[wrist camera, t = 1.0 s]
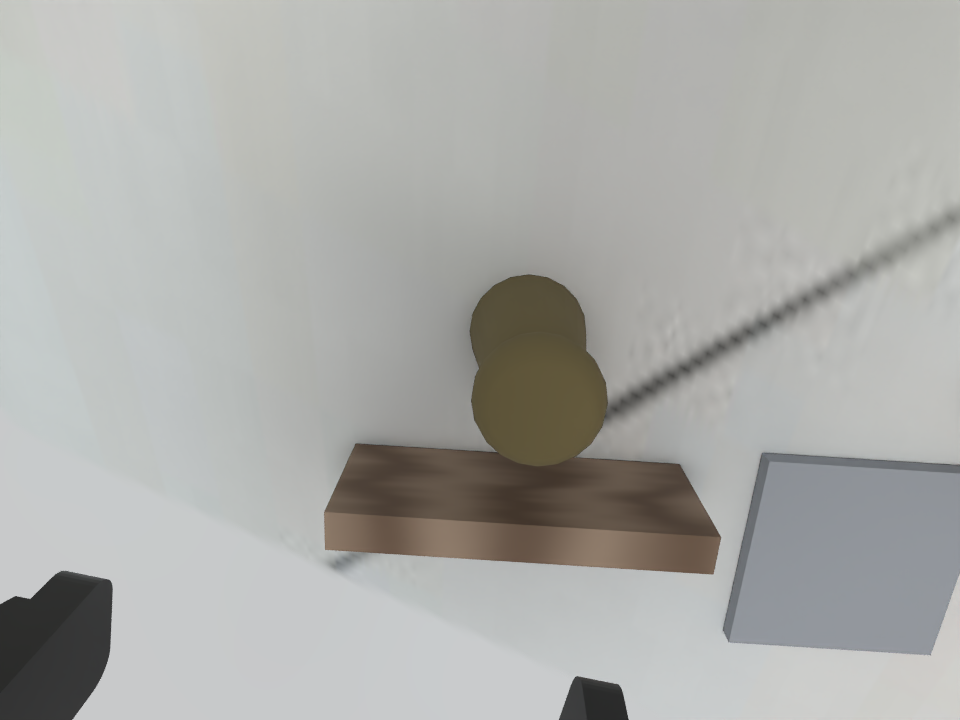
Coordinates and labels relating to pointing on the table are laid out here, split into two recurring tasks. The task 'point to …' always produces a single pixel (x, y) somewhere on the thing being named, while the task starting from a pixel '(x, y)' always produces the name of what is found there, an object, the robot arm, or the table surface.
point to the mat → (847, 555)
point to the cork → (535, 372)
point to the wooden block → (520, 510)
